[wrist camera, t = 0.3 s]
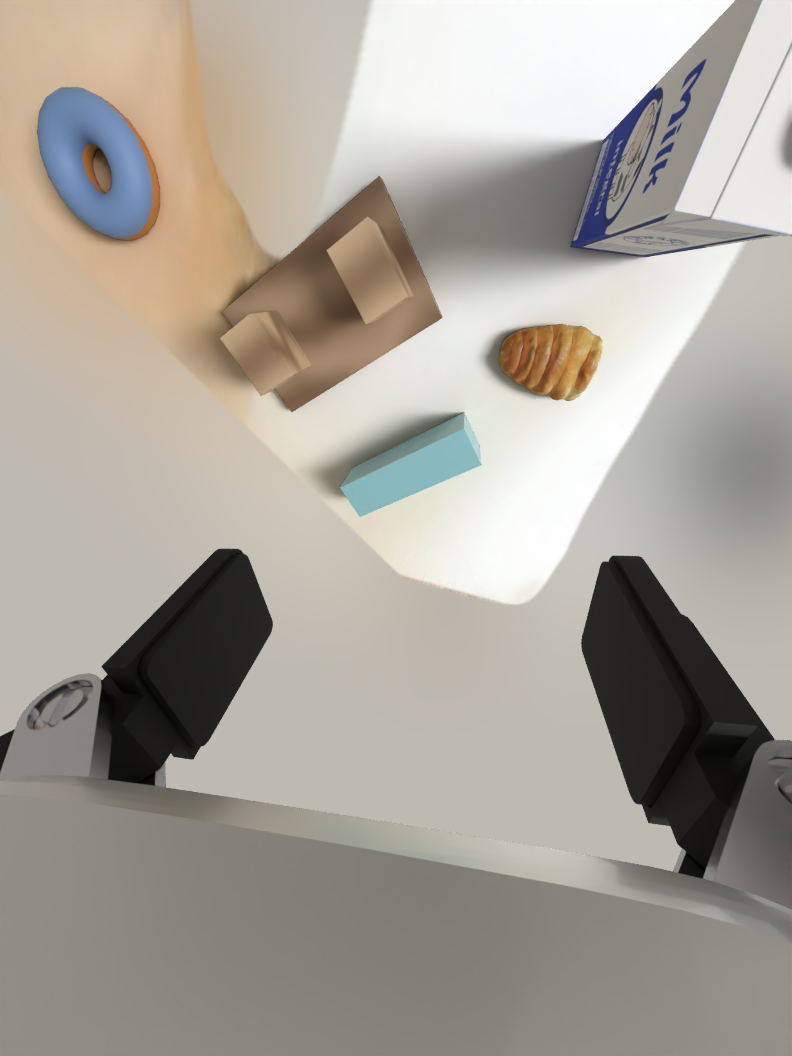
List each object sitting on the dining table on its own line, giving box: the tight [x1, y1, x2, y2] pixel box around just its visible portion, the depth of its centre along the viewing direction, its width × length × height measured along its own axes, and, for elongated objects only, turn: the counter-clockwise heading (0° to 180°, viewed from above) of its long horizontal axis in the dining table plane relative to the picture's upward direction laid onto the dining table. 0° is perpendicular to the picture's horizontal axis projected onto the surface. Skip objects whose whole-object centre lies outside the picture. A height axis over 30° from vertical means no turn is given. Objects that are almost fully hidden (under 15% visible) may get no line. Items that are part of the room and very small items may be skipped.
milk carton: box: [571, 0, 792, 257], centre depth 22 cm, size 7×7×20 cm
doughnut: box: [37, 87, 160, 240], centre depth 33 cm, size 10×10×5 cm
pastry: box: [499, 324, 602, 401], centre depth 36 cm, size 9×7×4 cm
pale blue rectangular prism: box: [340, 412, 481, 517], centre depth 44 cm, size 4×16×6 cm, turn 120°
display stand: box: [220, 176, 442, 412], centre depth 35 cm, size 12×20×8 cm, turn 120°
